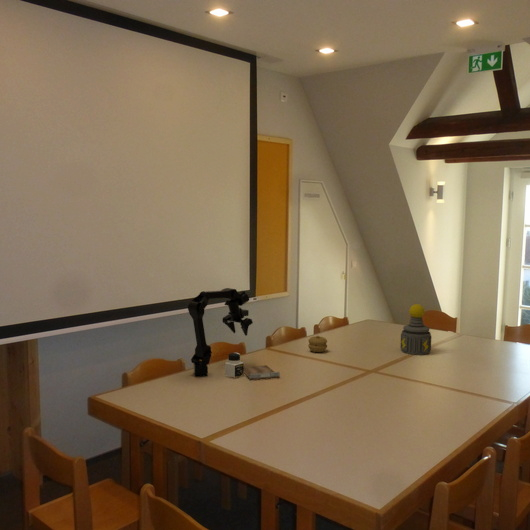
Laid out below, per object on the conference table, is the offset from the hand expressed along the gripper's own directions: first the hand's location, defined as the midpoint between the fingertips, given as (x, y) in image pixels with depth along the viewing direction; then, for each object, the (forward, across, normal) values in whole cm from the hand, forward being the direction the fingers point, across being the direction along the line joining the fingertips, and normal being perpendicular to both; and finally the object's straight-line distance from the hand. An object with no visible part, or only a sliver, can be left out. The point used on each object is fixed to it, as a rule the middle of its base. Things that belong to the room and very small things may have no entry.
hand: (240, 334), depth 322 cm
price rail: (+12, -29, +16) cm, 35 cm away
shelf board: (+14, -20, +12) cm, 27 cm away
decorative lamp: (+47, -58, -86) cm, 114 cm away
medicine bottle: (+11, -14, +23) cm, 29 cm away
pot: (+34, -14, -46) cm, 59 cm away
